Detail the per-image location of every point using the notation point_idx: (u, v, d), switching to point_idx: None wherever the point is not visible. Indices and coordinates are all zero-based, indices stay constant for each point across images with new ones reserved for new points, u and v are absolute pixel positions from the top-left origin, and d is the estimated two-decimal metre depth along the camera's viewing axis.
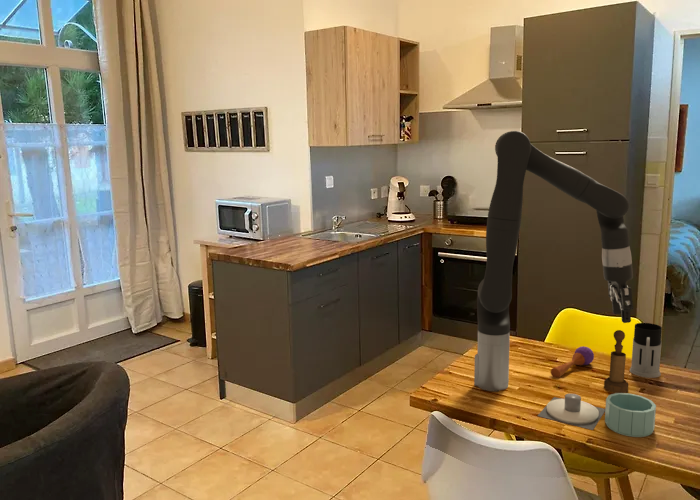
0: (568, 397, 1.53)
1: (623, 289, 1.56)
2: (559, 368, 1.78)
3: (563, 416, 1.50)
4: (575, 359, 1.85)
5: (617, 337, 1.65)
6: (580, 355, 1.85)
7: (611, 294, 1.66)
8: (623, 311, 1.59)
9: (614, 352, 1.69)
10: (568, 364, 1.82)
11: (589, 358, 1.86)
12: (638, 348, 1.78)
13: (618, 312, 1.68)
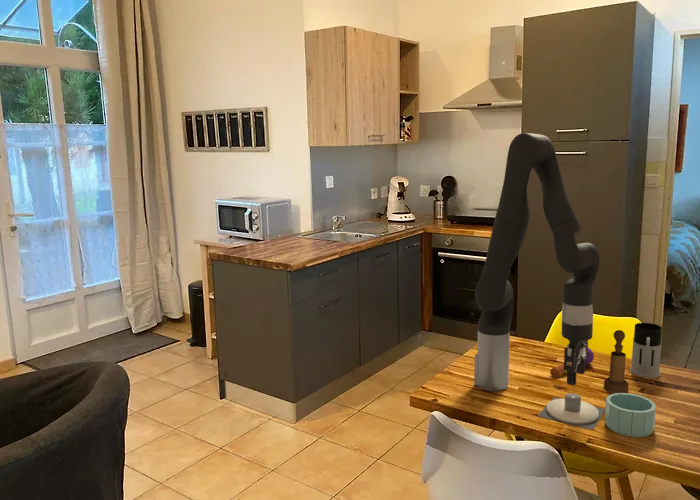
0: (568, 397, 1.53)
1: (566, 349, 1.46)
2: (559, 368, 1.78)
3: (563, 416, 1.50)
4: None
5: (617, 337, 1.65)
6: None
7: None
8: (568, 372, 1.49)
9: (614, 352, 1.69)
10: None
11: (589, 358, 1.86)
12: (638, 348, 1.78)
13: (580, 372, 1.56)
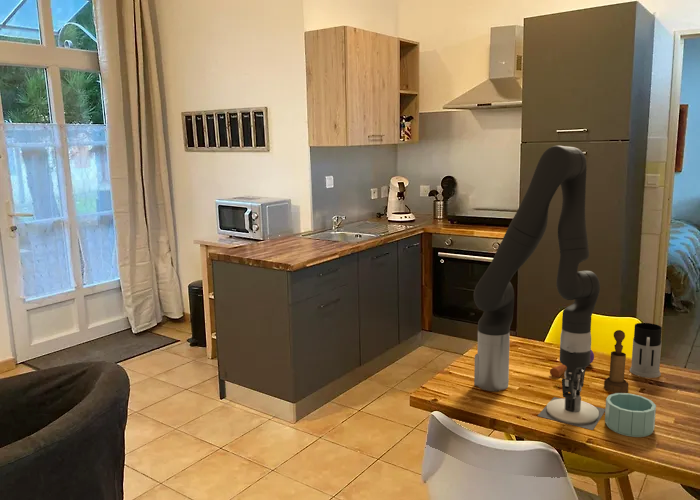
0: None
1: (563, 380, 1.48)
2: (558, 368, 1.78)
3: (563, 416, 1.50)
4: None
5: (617, 337, 1.65)
6: None
7: None
8: (567, 398, 1.52)
9: (614, 352, 1.69)
10: None
11: None
12: (638, 348, 1.78)
13: None
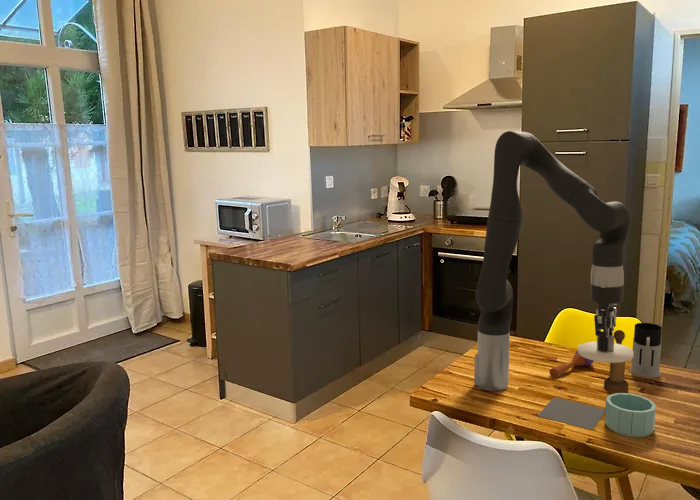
0: None
1: (596, 317, 1.40)
2: (558, 368, 1.78)
3: (597, 356, 1.43)
4: (575, 360, 1.84)
5: (617, 337, 1.65)
6: (580, 356, 1.85)
7: None
8: None
9: None
10: (567, 364, 1.82)
11: None
12: (638, 348, 1.78)
13: None
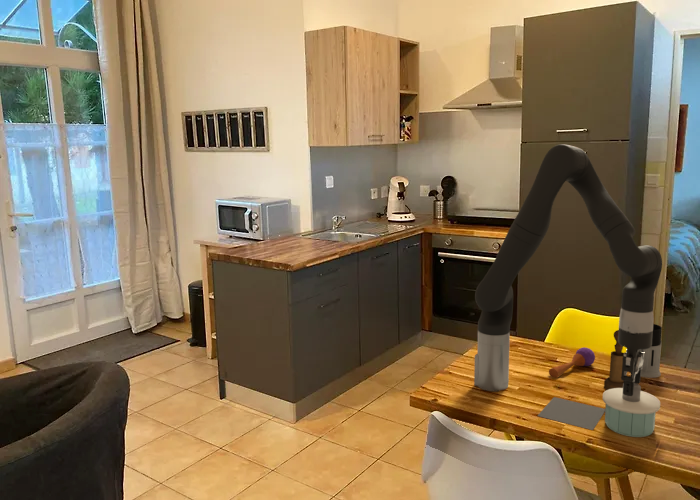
0: None
1: (625, 358, 1.38)
2: (557, 368, 1.78)
3: (623, 406, 1.41)
4: (575, 360, 1.84)
5: (617, 337, 1.65)
6: (580, 356, 1.85)
7: None
8: (625, 382, 1.40)
9: (614, 352, 1.69)
10: (567, 365, 1.81)
11: (590, 359, 1.85)
12: None
13: (636, 382, 1.47)
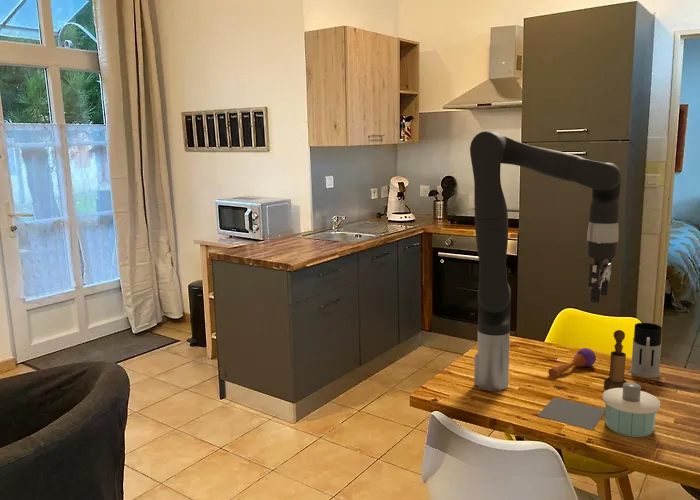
0: (627, 386, 1.44)
1: (592, 265, 1.49)
2: (556, 368, 1.78)
3: (623, 406, 1.41)
4: (575, 360, 1.84)
5: (617, 337, 1.65)
6: (581, 356, 1.84)
7: None
8: (592, 289, 1.51)
9: (614, 352, 1.69)
10: (567, 365, 1.81)
11: (590, 359, 1.84)
12: (638, 348, 1.78)
13: (604, 294, 1.58)
